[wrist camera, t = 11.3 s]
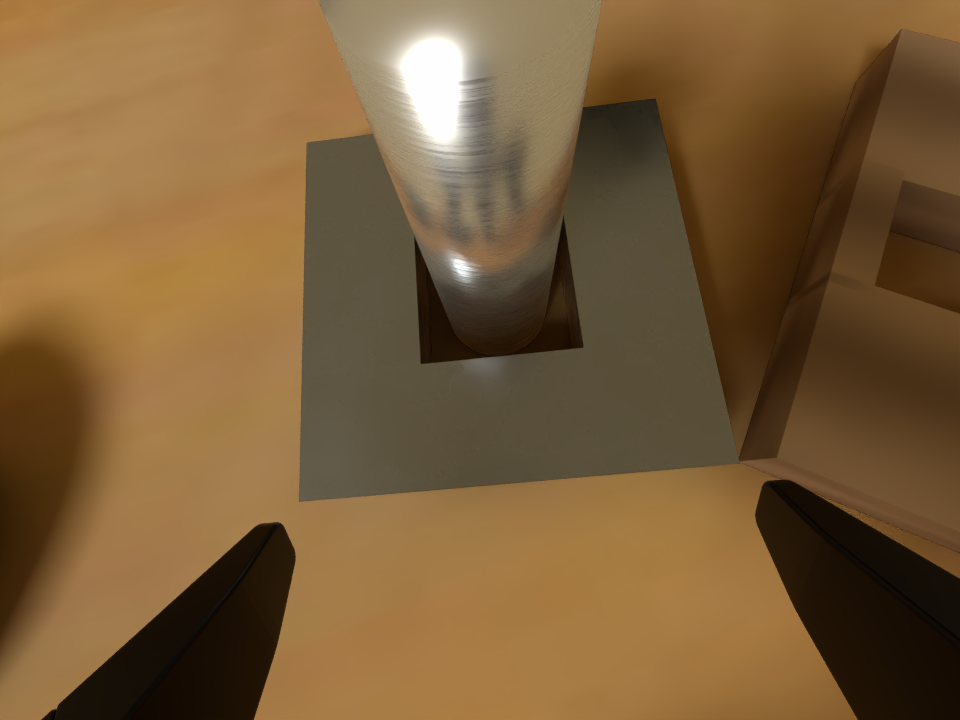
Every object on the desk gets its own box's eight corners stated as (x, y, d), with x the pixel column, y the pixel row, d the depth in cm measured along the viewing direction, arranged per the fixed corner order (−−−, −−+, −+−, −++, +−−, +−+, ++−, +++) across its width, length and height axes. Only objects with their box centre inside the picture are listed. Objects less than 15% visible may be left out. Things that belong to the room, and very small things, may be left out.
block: (707, 466, 16) (739, 463, 14) (329, 499, 17) (299, 501, 15) (638, 144, 20) (655, 98, 18) (330, 181, 21) (306, 142, 18)
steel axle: (565, 319, 18) (674, -33, 6) (483, 374, 18) (411, 127, 5) (509, 247, 19) (497, -185, 7) (430, 298, 19) (266, -58, 6)
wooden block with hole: (981, 562, 15) (1070, 577, 13) (738, 461, 16) (777, 457, 14) (1058, 135, 19) (1138, 84, 16) (855, 83, 20) (901, 28, 18)
